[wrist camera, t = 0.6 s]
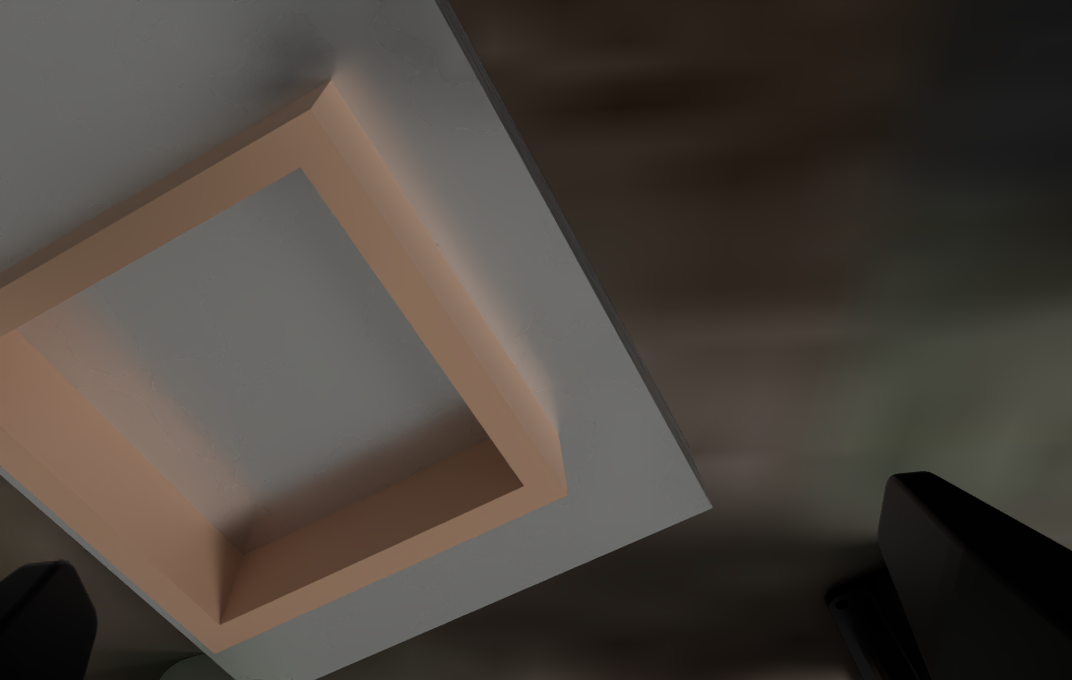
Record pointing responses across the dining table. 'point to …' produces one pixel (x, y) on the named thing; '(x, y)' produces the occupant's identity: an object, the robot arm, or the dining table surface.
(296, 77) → the grey board with frame
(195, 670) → the spout can
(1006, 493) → the dining table surface
